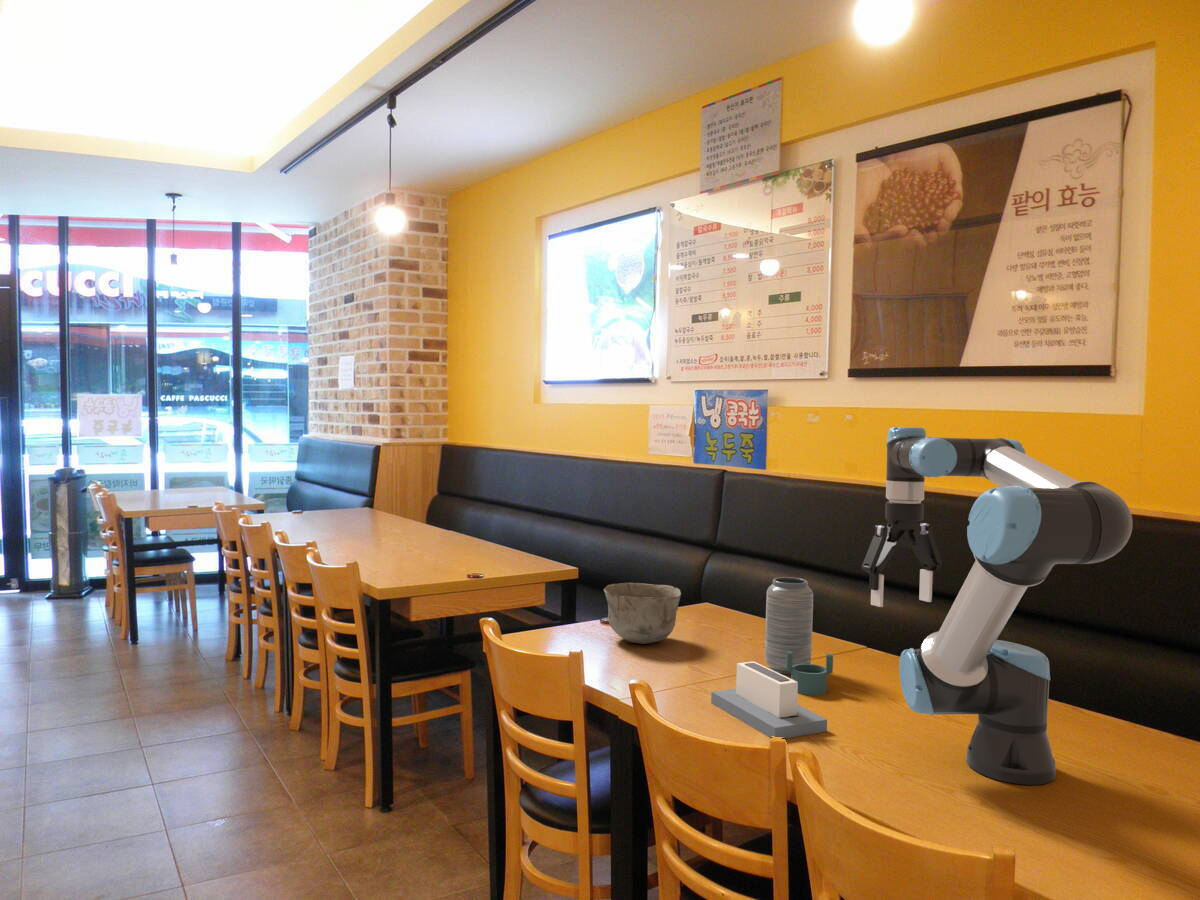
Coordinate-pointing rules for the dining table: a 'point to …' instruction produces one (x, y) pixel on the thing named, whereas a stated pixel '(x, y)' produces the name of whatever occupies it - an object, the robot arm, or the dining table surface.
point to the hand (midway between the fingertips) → (901, 603)
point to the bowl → (642, 610)
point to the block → (767, 689)
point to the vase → (788, 623)
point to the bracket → (810, 675)
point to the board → (769, 716)
